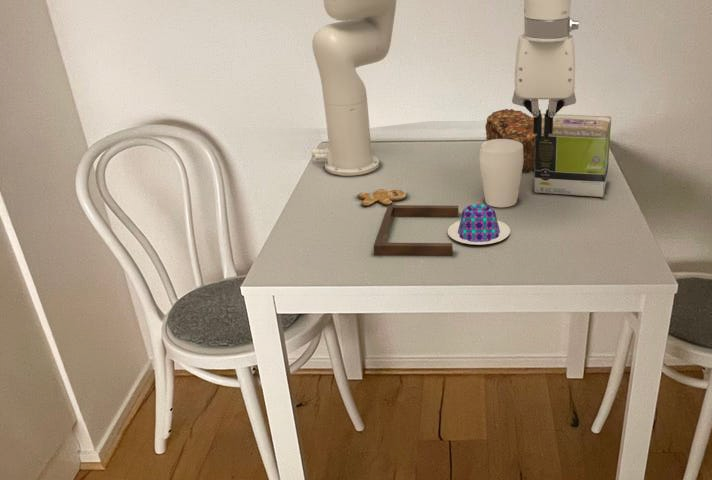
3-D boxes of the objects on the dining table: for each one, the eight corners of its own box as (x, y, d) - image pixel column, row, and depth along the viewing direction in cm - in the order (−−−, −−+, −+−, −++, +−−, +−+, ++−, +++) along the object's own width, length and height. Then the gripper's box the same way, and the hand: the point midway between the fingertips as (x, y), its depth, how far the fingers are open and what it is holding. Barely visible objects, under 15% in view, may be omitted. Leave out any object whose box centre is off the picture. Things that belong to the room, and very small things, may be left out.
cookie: (355, 190, 162) (401, 184, 165) (356, 194, 162) (401, 188, 165) (362, 204, 155) (410, 198, 158) (363, 209, 156) (410, 202, 158)
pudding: (508, 220, 150) (508, 196, 148) (512, 247, 140) (512, 221, 138) (448, 221, 150) (447, 197, 148) (447, 248, 140) (446, 222, 137)
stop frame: (374, 255, 138) (373, 245, 137) (388, 214, 154) (388, 204, 153) (452, 255, 138) (451, 246, 137) (458, 214, 153) (458, 205, 152)
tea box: (607, 181, 168) (612, 115, 160) (603, 199, 159) (608, 129, 151) (540, 176, 170) (542, 111, 163) (532, 193, 162) (534, 125, 154)
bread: (484, 149, 186) (484, 108, 181) (524, 144, 189) (525, 104, 184) (513, 175, 172) (514, 131, 166) (556, 168, 175) (558, 126, 169)
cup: (519, 211, 154) (520, 154, 148) (475, 208, 156) (474, 152, 149) (525, 195, 162) (527, 140, 155) (484, 192, 163) (483, 137, 157)
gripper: (590, 23, 128) (583, 131, 138) (500, 23, 128) (500, 130, 138) (594, 32, 121) (587, 144, 131) (500, 33, 122) (499, 144, 132)
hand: (542, 137), depth 135 cm, fingers closed
